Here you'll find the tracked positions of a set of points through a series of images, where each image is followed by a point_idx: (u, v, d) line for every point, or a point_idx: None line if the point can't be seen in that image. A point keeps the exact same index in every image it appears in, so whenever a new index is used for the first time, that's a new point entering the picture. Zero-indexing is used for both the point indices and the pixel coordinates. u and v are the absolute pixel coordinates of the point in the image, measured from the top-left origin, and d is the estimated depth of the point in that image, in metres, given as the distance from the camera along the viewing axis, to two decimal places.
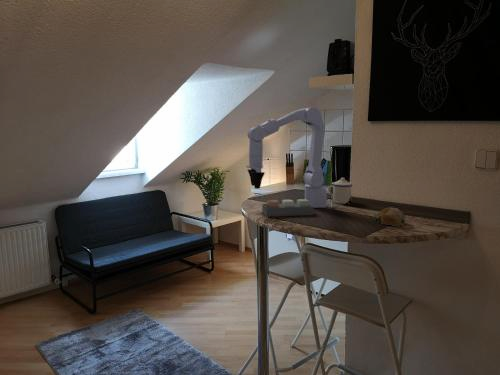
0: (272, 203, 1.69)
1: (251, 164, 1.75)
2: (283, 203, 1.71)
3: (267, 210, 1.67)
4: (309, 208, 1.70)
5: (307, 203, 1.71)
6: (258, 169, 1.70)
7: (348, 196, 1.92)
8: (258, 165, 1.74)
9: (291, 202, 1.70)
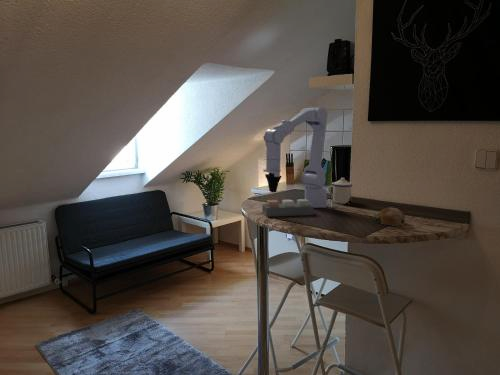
0: (272, 203, 1.69)
1: (268, 168, 1.66)
2: (283, 203, 1.71)
3: (267, 210, 1.67)
4: (309, 208, 1.70)
5: (307, 203, 1.71)
6: (276, 173, 1.61)
7: (348, 196, 1.92)
8: (276, 169, 1.66)
9: (291, 202, 1.70)
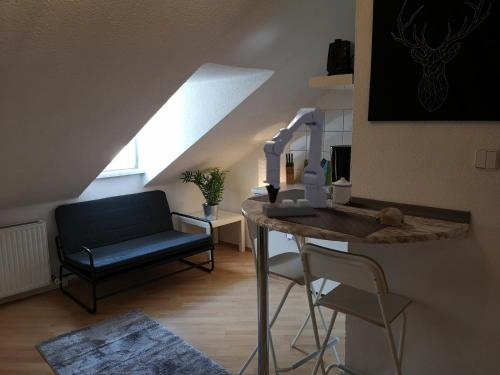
0: (272, 205, 1.69)
1: (268, 179, 1.67)
2: (283, 203, 1.71)
3: (267, 210, 1.67)
4: (309, 208, 1.70)
5: (307, 203, 1.71)
6: (276, 185, 1.62)
7: (348, 196, 1.92)
8: (276, 180, 1.67)
9: (291, 202, 1.70)
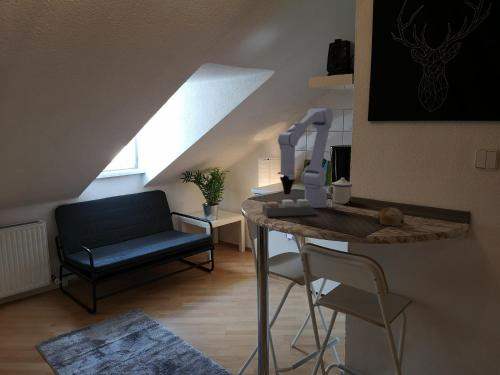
0: (272, 205, 1.69)
1: (283, 170, 1.68)
2: (283, 203, 1.71)
3: (267, 210, 1.67)
4: (309, 208, 1.70)
5: (307, 203, 1.71)
6: (291, 176, 1.63)
7: (348, 196, 1.92)
8: (290, 171, 1.67)
9: (291, 202, 1.70)
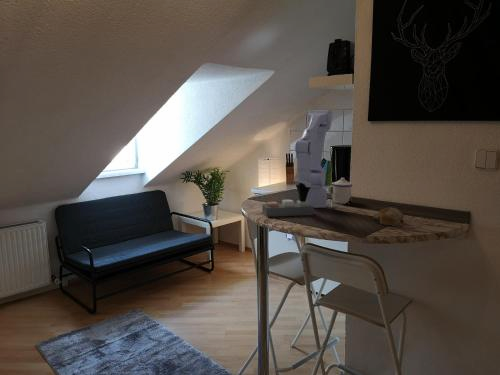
0: (272, 205, 1.69)
1: (299, 178, 1.69)
2: (283, 203, 1.71)
3: (267, 210, 1.67)
4: (309, 208, 1.70)
5: (307, 204, 1.71)
6: (308, 184, 1.64)
7: (348, 196, 1.92)
8: (306, 179, 1.69)
9: (291, 202, 1.70)
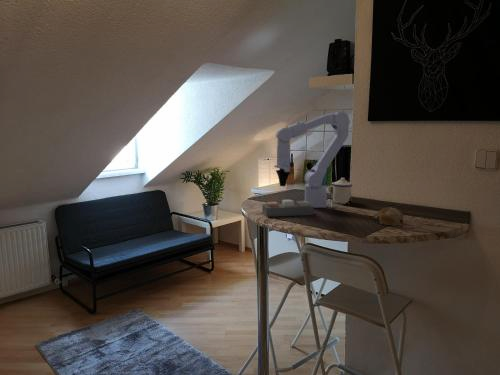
0: (272, 205, 1.69)
1: (279, 164, 1.80)
2: (283, 203, 1.71)
3: (267, 210, 1.67)
4: (309, 208, 1.70)
5: (307, 205, 1.71)
6: (287, 169, 1.76)
7: (348, 196, 1.92)
8: (286, 165, 1.80)
9: (291, 202, 1.70)
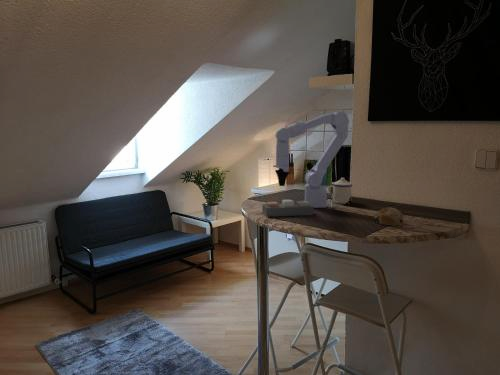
0: (272, 205, 1.69)
1: (278, 164, 1.81)
2: (283, 203, 1.71)
3: (267, 210, 1.67)
4: (309, 208, 1.70)
5: (307, 205, 1.71)
6: (286, 168, 1.76)
7: (348, 196, 1.92)
8: (285, 165, 1.81)
9: (291, 202, 1.70)
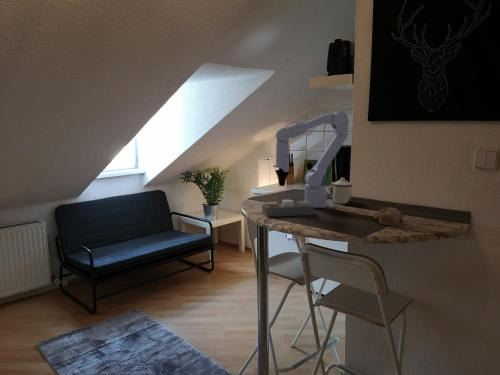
0: (272, 205, 1.69)
1: (278, 164, 1.81)
2: (283, 203, 1.71)
3: (267, 210, 1.67)
4: (309, 208, 1.70)
5: (307, 205, 1.71)
6: (286, 168, 1.76)
7: (348, 196, 1.92)
8: (285, 165, 1.81)
9: (291, 202, 1.70)
